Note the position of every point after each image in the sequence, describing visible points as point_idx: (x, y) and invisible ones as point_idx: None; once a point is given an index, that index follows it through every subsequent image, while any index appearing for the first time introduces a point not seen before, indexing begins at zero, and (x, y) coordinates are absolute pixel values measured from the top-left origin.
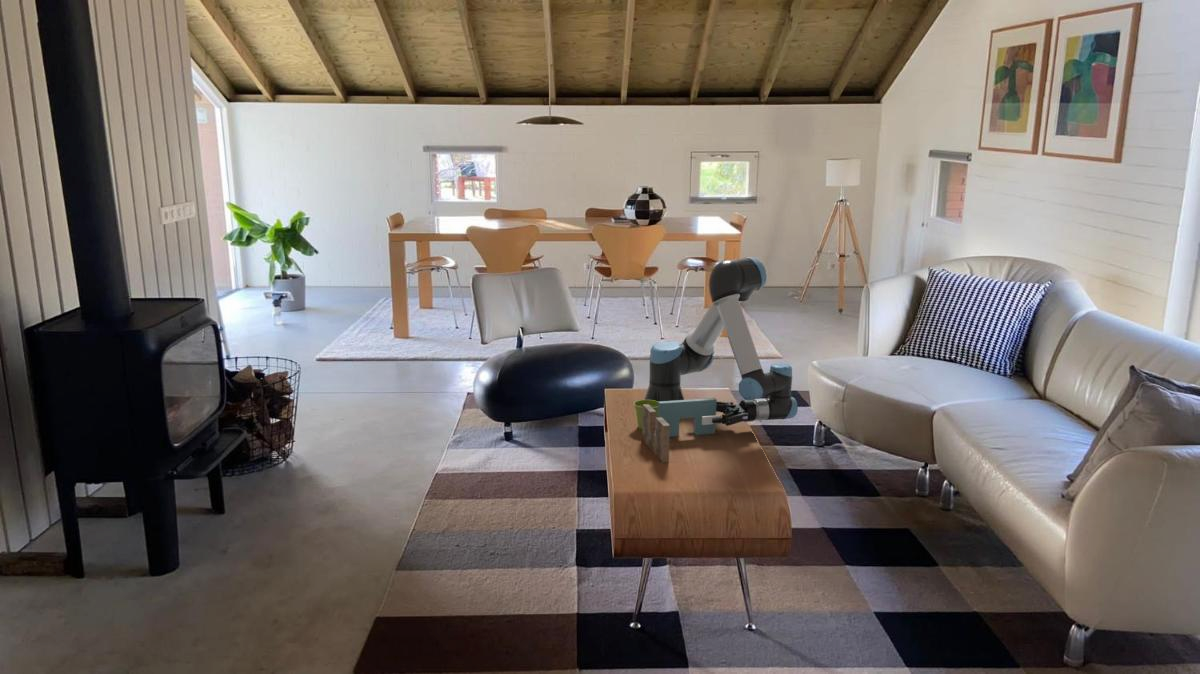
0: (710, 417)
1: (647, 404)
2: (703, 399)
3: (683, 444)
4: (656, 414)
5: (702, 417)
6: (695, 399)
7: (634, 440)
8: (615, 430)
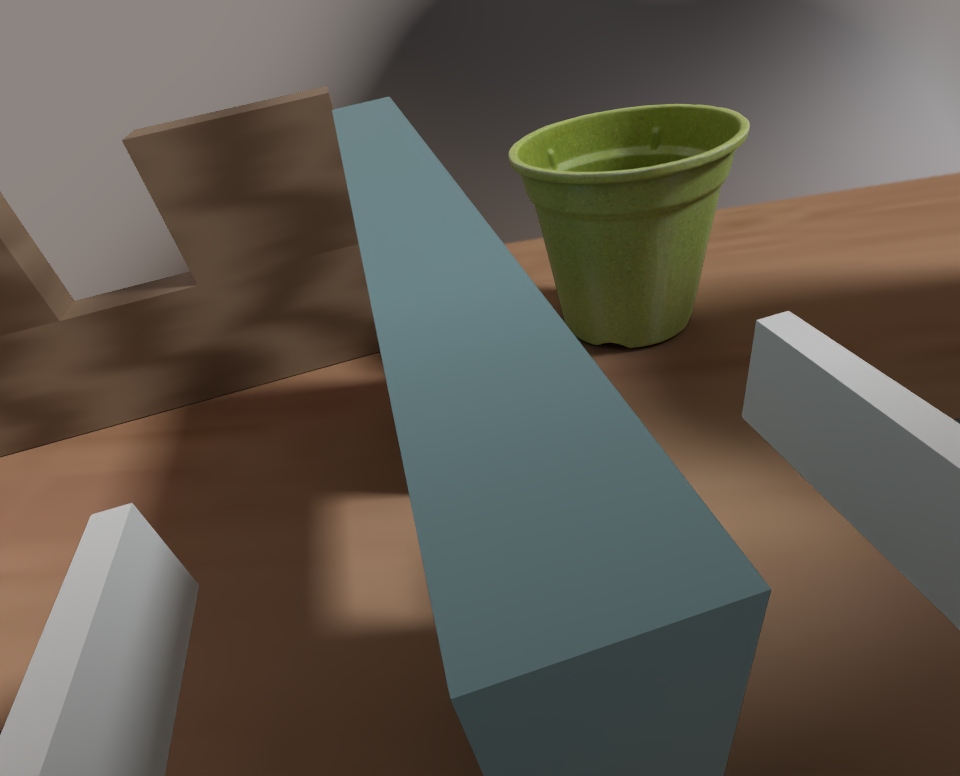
0: (46, 660)
1: (320, 92)
2: (470, 309)
3: (232, 534)
4: (590, 248)
5: (111, 517)
6: (466, 224)
7: None
8: (535, 240)
